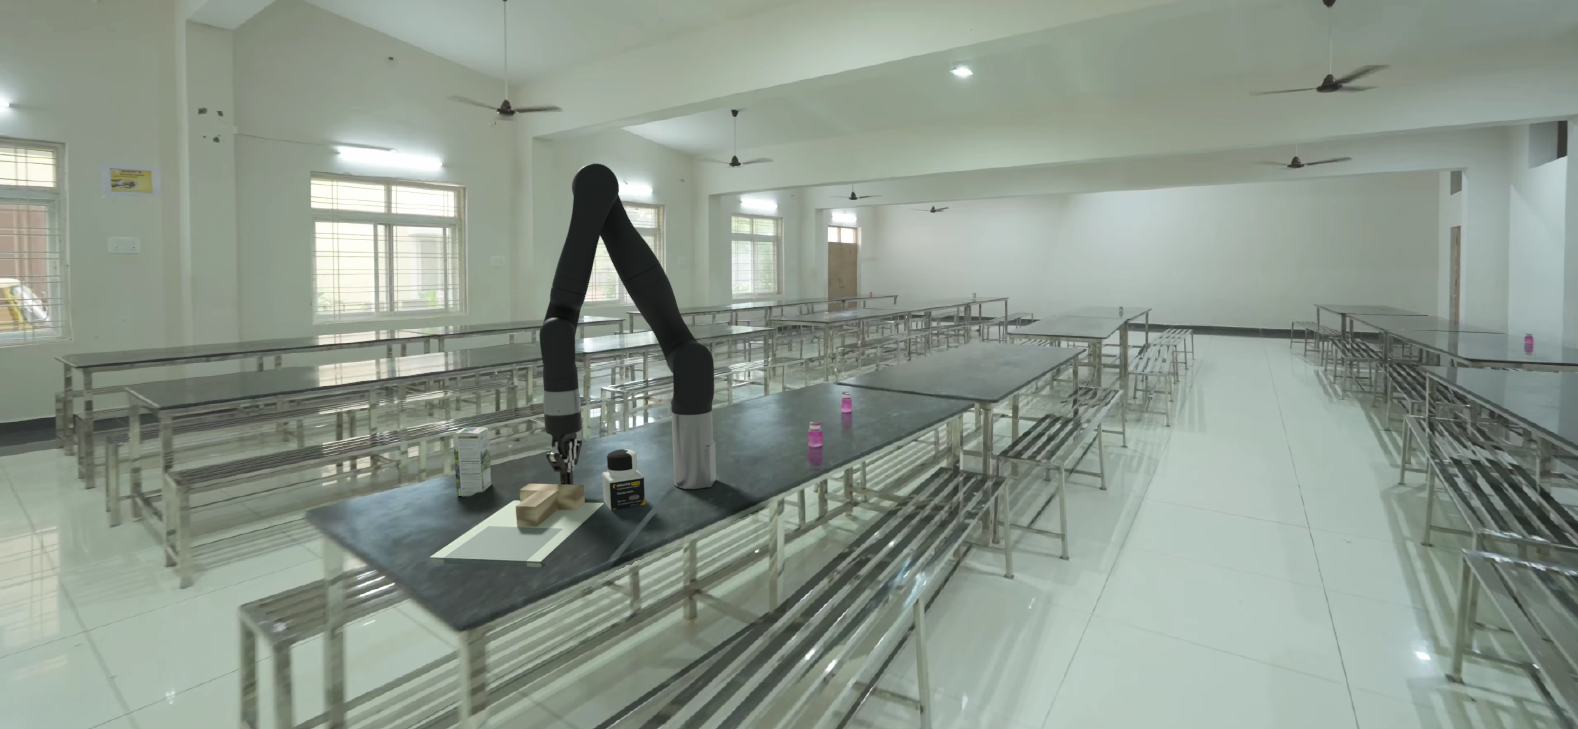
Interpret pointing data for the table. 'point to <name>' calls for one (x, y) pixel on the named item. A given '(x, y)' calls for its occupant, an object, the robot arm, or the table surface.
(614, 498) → the medicine bottle
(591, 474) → the table surface
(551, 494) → the wooden T-block
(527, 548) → the sage board
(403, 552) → the table surface
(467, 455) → the syrup box
